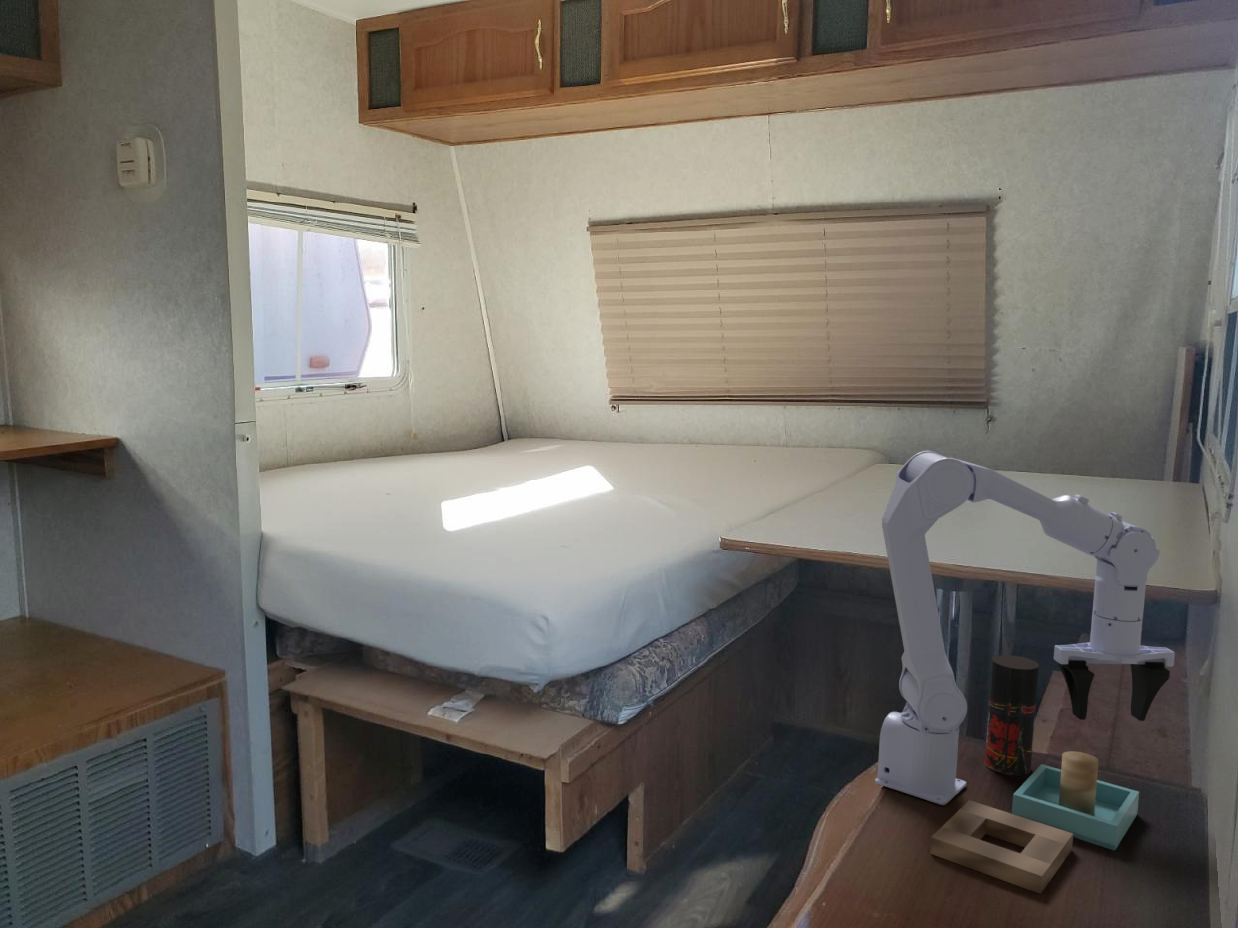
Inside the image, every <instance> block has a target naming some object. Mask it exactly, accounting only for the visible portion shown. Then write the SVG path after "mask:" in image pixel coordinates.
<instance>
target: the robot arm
mask: <svg viewBox="0 0 1238 928" xmlns="http://www.w3.org/2000/svg"><path fill="white" fill-rule="evenodd" d="M985 500H992V501H994V502H996V503H999V504H1001V505H1003V506H1006V507H1008V508H1011V509H1013V510H1015V511H1017V512H1020V513H1022V514H1024V515H1027V516H1029V517H1032V518H1033V519H1036V520H1038V521H1039V522H1040V525H1041V527H1042V530H1043V533H1044V534H1045V535H1046V536H1047V537H1050V538H1052V539H1054V540H1056V541H1059V542H1061V543H1063V544H1065V545H1067V546H1069V547H1072V548H1073V549H1076V550H1078V551H1080V552H1082V553H1085V554H1086V555H1089V556H1091V557H1094V558H1095V559H1096V568H1095V579H1094V590H1093V601H1092V602H1093V604H1092V613H1091V625H1090V627H1091V628H1090V637H1089V638H1090V639H1089V642H1082V643H1071V644H1058V645H1057V644H1055V645H1054V651H1053V660H1054V661H1055V662H1056V663H1057V664H1058V667H1059V669H1060V671H1061V673H1062V676H1063V678H1064V681H1065V683H1066V686H1067V690H1068V692H1069V693H1068V694H1069V697H1070V703H1071V709H1072V711H1071V712H1072V715H1073V716H1074V717H1076V718H1077V719H1079V720H1081V721H1082V720H1084V721H1085V720H1086V719H1087V715H1088V704H1089V703H1088V702H1089V695H1090V690H1091V685H1092V682H1093V680H1094V678H1095V673H1094V672H1093V671H1091V670H1089V666H1088V665H1087V664H1111V665H1112V664H1115V665H1116V664H1117V665H1130V672H1131V684H1132V685H1131V686H1132V687H1131V700H1130V715H1131V716H1132V717H1134V718H1135V719H1136V720H1137V721H1139V722H1144V721H1145V720H1146V717H1147V715H1148V712H1149V710H1150V708H1151V705H1152V703H1153V701H1154V699H1155V698H1156V695H1157V694H1158V693H1159V691H1160V689H1161V688H1162V687H1163V686H1164V685H1165V684H1166V682H1167V681H1168V680H1169V679H1170V674H1171V671H1170V670H1169V669H1168V668H1166V667H1170V668H1171V667H1174V665H1175V657H1176V652H1175V651H1174V650H1172V649H1169V648H1168V647H1164V646H1162V647H1160V646H1148V645H1141V643H1142V642H1141V641H1142V631H1143V630H1142V629H1143V620H1144V619H1143V618H1144V608H1145V598H1146V597H1145V596H1146V588H1147V587H1146V585H1147V581H1148V574H1149V571H1150V569H1151V568H1152V567H1154V565H1155V564H1156V562H1157V561H1158V559H1159V556H1160V551H1161V550H1159V549H1157V545H1156V540H1155V539H1154V537H1153V536H1152V534H1151V533H1150V531H1148V530H1146V529H1144V528H1142V527H1139V526H1137V525H1135V524H1131V523H1129V522H1126V521H1123V515H1120V514H1119V513H1116V512H1114V511H1112V512H1110V513H1108V512H1106V511H1103V510H1102V509H1099V508H1097V507H1095V506H1092V505H1091V504H1089V502H1090V500H1089V498H1087V497H1084V496H1082V495H1080V494H1075V495H1074V496H1072V495H1069V494H1064V495H1063V494H1062V495H1060V496H1057V497H1054V498H1050V497H1048V496H1046V495H1045V494H1044V495H1043V494H1042V493H1041V492H1038V491H1036V490H1034V489H1032V488H1030V487H1028V486H1026V485H1023V484H1022V483H1019V482H1017V481H1016V480H1014V479H1012V478H1010V477H1009V476H1008V477H1007V476H1006V475H1004V474H1002V473H999V472H998V471H995V470H994V469H990V468H988V467H985V466H982V465H979V464H976V463H972V462H969V461H964V460H961V459H958V458H954V457H947V456H944V455H943V454H941V453H939V452H936V451H933V450H923V451H920V452H918V453H915V454H913V455H912V456H911V457H910V458H909V459H908V460H907V461H906V462H905V463H904V464H903V466H901V468H900V469H899V470H897V472H896V475H895V482H894V486H893V490H892V491H891V494H890V497H889V500H888V502H887V504H886V507H885V510H884V512H883V515H882V518H881V527H882V533H883V538H884V544H885V549H886V554H887V560H888V561H887V562H888V565H889V572H890V577H891V583H892V588H893V589H892V590H893V595H894V601H895V606H896V611H897V616H898V622H899V628H900V629H899V630H900V633H901V638H902V645H903V649H904V652H903V653H902V656H901V658H900V659H901V663H902V670H901V675H900V678H899V682H898V687H899V692H900V694H901V696H902V697H903V699H904V700H905V701H906V703H905V705H904V708H903V709H902V712H898V711H891V712H889V713H888V714H887V715H886V717H885V718H884V720H883V723H882V724H881V725H882V726H881V728H880V734H879V744H878V745H879V748H878V763H877V764H878V766H877V777H876V778H875V780H874V783H875V784H877V785H880V786H883V787H887V788H889V789H892V790H896V791H898V792H901V793H905V794H907V795H910V796H913V797H916V798H919V799H921V800H922V799H923V800H926V801H928V802H932V803H935V804H937V805H941V806H945V805H947V804H948V803H949V802H950V801H951V800H952V799H953V798H954V797H955V796H956V795H958V794H959V793H960V792H961V791H962V790H963V789H964V788H965V787H966V786H967V781H966V780H963V779H961V778H957V766H958V765H957V764H958V753H959V752H958V751H959V750H958V749H959V735H960V734H959V733H960V725H961V724H962V723H963V722H964V720H965V718H966V716H967V711H968V703H967V700H966V697H965V696H964V694H963V692H962V691H961V690H960V689H959V687H958V686H957V683H956V679H955V673H954V672H953V671H954V670H953V669H952V665H951V663H950V661H949V658H948V656H947V654H946V648H945V643H944V639H943V633H942V627H941V626H942V625H941V621H940V615H939V609H938V605H937V599H936V592H935V586H934V580H933V574H932V570H931V563H930V558H929V553H928V547H927V546H928V545H927V541H926V534H927V532H929V530H930V529H931V528H932V527H933V526H934V524H935V523H936V522H937V521H938V520H939V519H940V518H943V517H944V516H946V515H947V514H949V513H951V512H953V511H955V509H958V508H959V507H961V506H962V505H963V504H964V503H966V501H970V502H971V503H979V502H982V501H985Z"/></svg>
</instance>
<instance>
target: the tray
mask: <svg viewBox="0 0 1238 928" xmlns="http://www.w3.org/2000/svg"><path fill="white" fill-rule="evenodd" d="M1060 781H1061V769H1060V768H1056V767H1053V766H1049V765H1046V764H1043V763H1041V764H1040V765H1039V766H1038V767H1037V769H1035V771H1034V772H1032V774H1031V775H1030V776H1029V777H1028V778H1026V780H1025V781H1024V782H1023V783H1022V785H1021V786H1020V787H1019V788H1018V789H1017V790H1016V791H1015V792H1014V793H1013V795H1012V805H1011V807H1012V808H1011V814H1014V815H1017V816H1020V817H1023V818H1026V819H1029V820H1033V821H1036V822H1039V823H1042V824H1045V825H1048V826H1051V827H1054V828H1057V829H1061V830H1064V831H1067V832H1070V833H1073V839H1074V838H1075V839H1077V840H1081V841H1084V842H1087V843H1090V844H1093V845H1096V846H1099V847H1103V848H1106V849H1109V850H1111V851H1114V852H1115V851H1116V850H1117V848H1118V847H1119V845H1120V844H1121V841H1122V840H1123V838H1124V837H1125V835H1126V833H1127V832H1128V830H1129V829H1130V827H1131V825H1132V824H1133V822H1134V820H1135V819H1136V817H1137V815H1138V812H1139V811H1138V809H1139V798H1140V797H1139V796H1140V791H1139V790H1135V789H1130V788H1127V787H1124V786H1120V785H1116V784H1113V783H1111V782H1106V781H1102V780H1099V779H1097V787H1096V800H1095V814H1094V816H1092V815H1089V814H1085V813H1082V812H1079V811H1075V810H1072V809H1069V808H1066V807H1062V806H1059V795H1060Z"/></svg>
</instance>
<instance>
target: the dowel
mask: <svg viewBox="0 0 1238 928" xmlns="http://www.w3.org/2000/svg"><path fill="white" fill-rule="evenodd" d="M1060 767H1061V781H1060V795H1059V806H1062V807H1066V808H1069V809H1072V810H1075V811H1079V812H1082V813H1085V814H1089V815H1092V816H1094V814H1095V800H1096V787H1097V780H1098V771H1099V759H1098V758H1097V757H1096V756H1093V755H1092V754H1090V753H1085V752H1081V751H1072V750H1070V751H1064V752H1063V753H1062V755H1061V766H1060Z"/></svg>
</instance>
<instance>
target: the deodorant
mask: <svg viewBox="0 0 1238 928" xmlns="http://www.w3.org/2000/svg"><path fill="white" fill-rule="evenodd" d="M1039 668H1040V665H1039V663H1038V662H1037V661H1035V660H1034V659H1031V658H1027V657H1025V656H1024V657H1023V656H1020V655H1019V656H1018V655H1009V654H1006V655H1005V654H1000V655H996V656H993V657H992V659H991V670H990V672H991V674H990V686H989V687H990V688H989V700H988V715H987V728H986V729H987V730H986V741H985V753H984V754H985V755H984V756H985V757H984V764H985V766H986V767H987V768H988V769H989V770H991V771H993V772H996V773H999V774H1002V775H1005V776H1011V777H1012V776H1013V777H1015V776H1016V777H1022V776H1023V777H1024V776H1026V775H1028V774H1030V773H1031V771H1032V760H1033V759H1032V758H1033V747H1034V746H1033V745H1034V731H1035V722H1036V721H1035V720H1036V705H1037V697H1038V696H1037V695H1038V694H1037V693H1038V681H1039V680H1038V679H1039V672H1040V671H1039Z"/></svg>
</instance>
